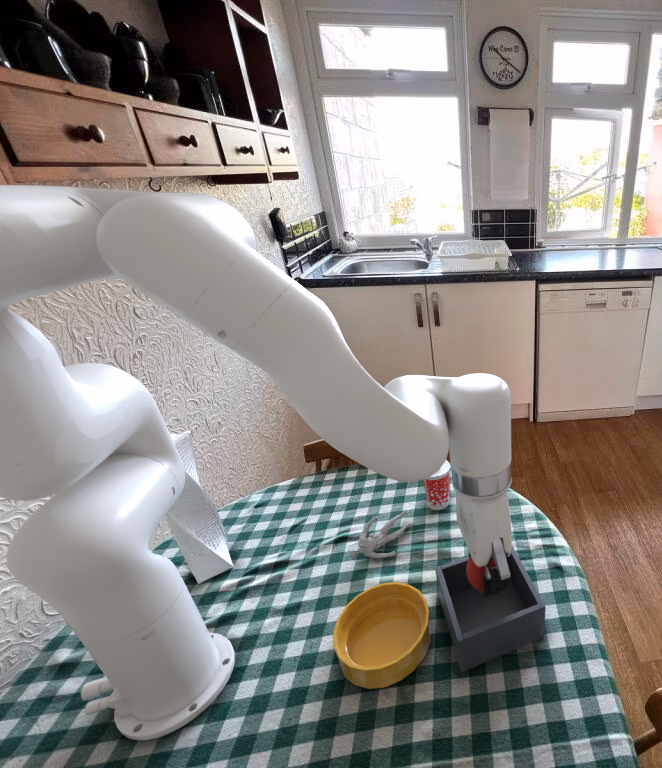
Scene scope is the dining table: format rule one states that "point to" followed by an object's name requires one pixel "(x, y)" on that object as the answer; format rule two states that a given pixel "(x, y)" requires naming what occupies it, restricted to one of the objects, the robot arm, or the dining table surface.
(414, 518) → the dining table surface
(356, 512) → the dining table surface
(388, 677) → the bowl
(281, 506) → the dining table surface
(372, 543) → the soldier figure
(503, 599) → the bin
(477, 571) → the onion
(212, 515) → the skyscraper
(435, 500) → the beverage cup
